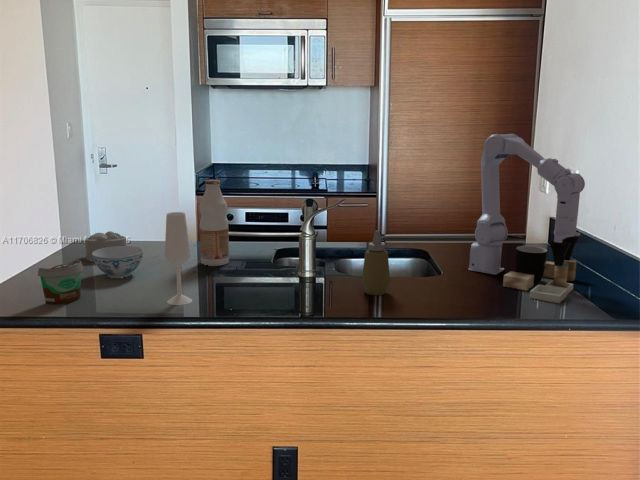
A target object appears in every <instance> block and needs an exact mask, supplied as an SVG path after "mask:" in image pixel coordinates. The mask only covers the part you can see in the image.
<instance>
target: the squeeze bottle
mask: <svg viewBox="0 0 640 480" xmlns="http://www.w3.org/2000/svg"><path fill="white" fill-rule="evenodd" d="M389 263H390V262H389V252H388V251H386V244H385V242H382V238H381V233H380V230H375V231H374V235H373V238H372V241H371V242H369V243H368V249H367V250H366V251H365V252H364V260H363V267H362V274H361V283H362V286H363V290H364V292H365V294H367V295H369V296H370V295H371V296H383V295H385V294H386V293H387V290H388V289H389V285H390V281H391V277H390V276H391V275H390V265H389Z"/></svg>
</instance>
